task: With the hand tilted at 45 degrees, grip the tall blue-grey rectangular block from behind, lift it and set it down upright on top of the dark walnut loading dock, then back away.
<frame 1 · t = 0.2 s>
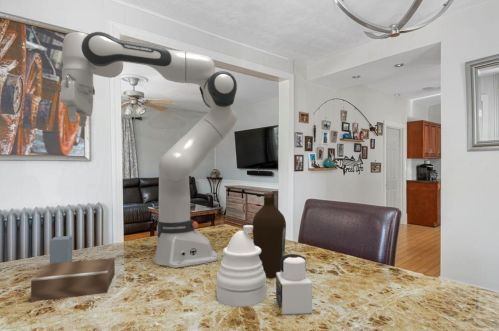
hand: (77, 124, 95), 47 cm above the table, tool pointing down, fingers open, 8 cm apart
olive oil: (269, 272, 91), on the table
medicine bottle: (293, 307, 68), on the table
honey pot: (241, 295, 75), on the table
dock: (77, 286, 80), on the table
blue-grey rectangular block: (61, 268, 95), on the table
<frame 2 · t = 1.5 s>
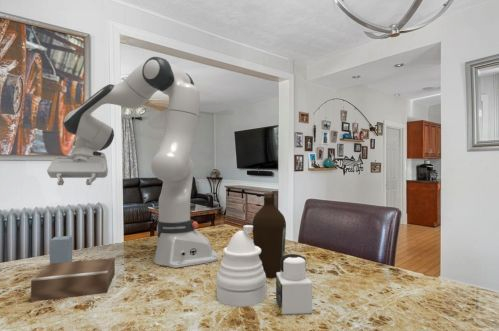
hand: (74, 184, 107), 27 cm above the table, tool tilted 45°, fingers open, 8 cm apart
nothing on the table moved.
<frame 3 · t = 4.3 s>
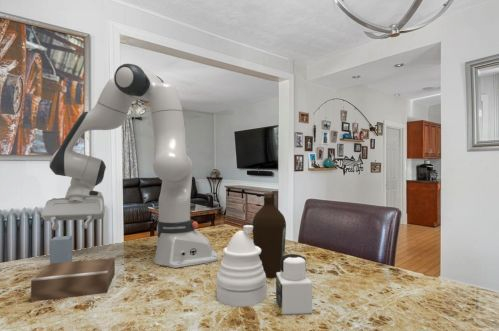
hand: (69, 228, 102), 12 cm above the table, tool tilted 45°, fingers open, 8 cm apart
nothing on the table moved.
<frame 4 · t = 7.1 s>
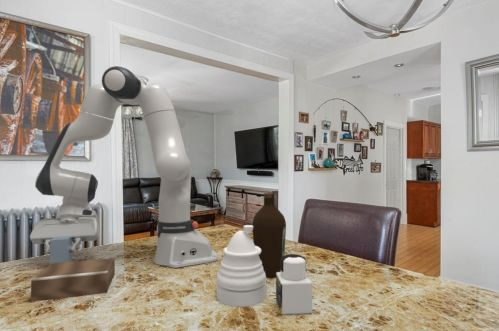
hand: (60, 252, 94), 5 cm above the table, tool tilted 45°, fingers closed on blue-grey rectangular block, 5 cm apart
blue-grey rectangular block: (61, 268, 95), on the table, touching gripper
everything else where it was.
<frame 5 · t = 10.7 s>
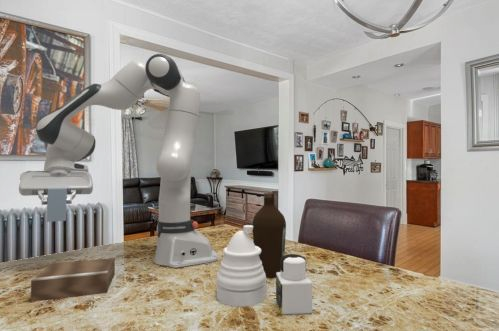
hand: (56, 203, 91), 22 cm above the table, tool tilted 45°, fingers closed on blue-grey rectangular block, 5 cm apart
blue-grey rectangular block: (56, 219, 92), point 16 cm above the table, touching gripper
everything else where it was.
when the fingers open (12 cm above the table, at t = 14.6 s): blue-grey rectangular block drops 1 cm, resting on dock.
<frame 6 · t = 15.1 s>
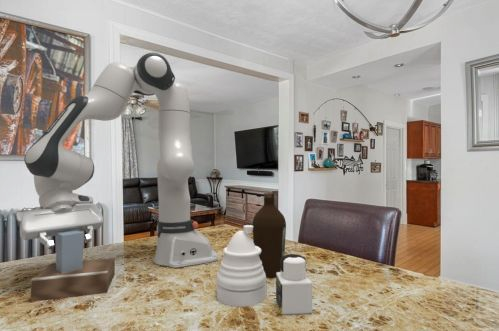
hand: (70, 244, 79), 12 cm above the table, tool tilted 45°, fingers open, 8 cm apart
blue-grey rectangular block: (69, 269, 80), point 5 cm above the table, touching dock
everything else where it was.
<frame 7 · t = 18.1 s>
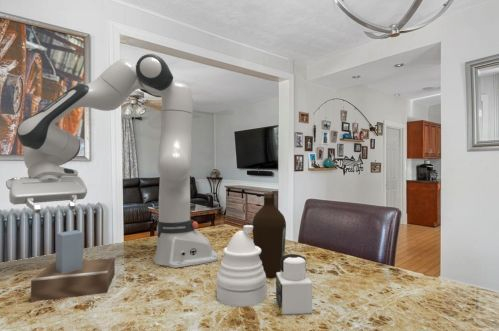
hand: (55, 209, 88), 20 cm above the table, tool tilted 45°, fingers open, 8 cm apart
nothing on the table moved.
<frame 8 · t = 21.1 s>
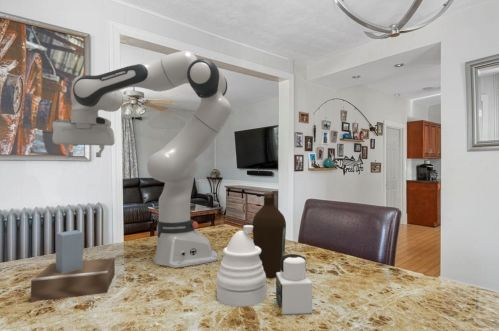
hand: (84, 157, 108), 37 cm above the table, tool pointing down, fingers open, 8 cm apart
nothing on the table moved.
at the end: blue-grey rectangular block inside the target area on the dock (2.0 cm from its centre), point 5.0 cm above the dock's base; blue-grey rectangular block tilted 0°; the gripper is holding nothing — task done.
